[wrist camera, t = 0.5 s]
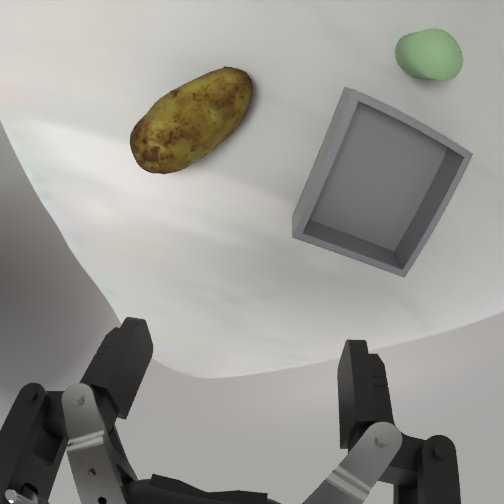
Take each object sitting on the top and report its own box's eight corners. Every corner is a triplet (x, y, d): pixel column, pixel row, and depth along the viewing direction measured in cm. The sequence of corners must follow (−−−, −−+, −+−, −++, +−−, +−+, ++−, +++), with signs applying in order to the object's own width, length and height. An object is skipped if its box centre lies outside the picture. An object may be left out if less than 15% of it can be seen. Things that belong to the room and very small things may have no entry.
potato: (272, 133, 33) (266, 150, 26) (166, 167, 36) (137, 192, 29) (247, 61, 29) (234, 57, 22) (140, 103, 32) (104, 114, 25)
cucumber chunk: (403, 26, 24) (424, 19, 19) (442, 48, 25) (468, 47, 20) (389, 64, 27) (408, 63, 22) (428, 85, 27) (453, 90, 22)
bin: (344, 87, 29) (353, 89, 25) (452, 142, 30) (472, 153, 26) (292, 216, 38) (292, 237, 33) (394, 254, 38) (404, 277, 34)
